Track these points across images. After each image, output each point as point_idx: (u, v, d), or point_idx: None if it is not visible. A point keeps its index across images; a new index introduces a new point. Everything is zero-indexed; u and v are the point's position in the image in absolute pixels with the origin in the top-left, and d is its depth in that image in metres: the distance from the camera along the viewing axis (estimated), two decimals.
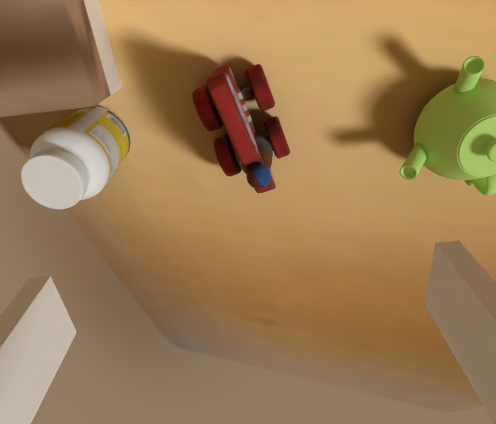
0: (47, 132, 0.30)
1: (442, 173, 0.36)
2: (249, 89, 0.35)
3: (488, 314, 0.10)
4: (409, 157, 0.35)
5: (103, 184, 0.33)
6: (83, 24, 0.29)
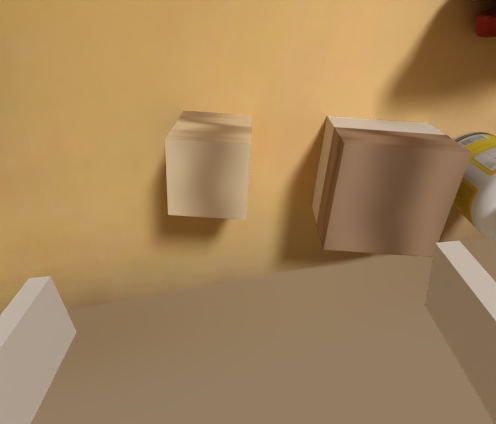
0: (475, 210, 0.28)
1: None
2: None
3: (488, 314, 0.10)
4: None
5: None
6: (380, 135, 0.29)
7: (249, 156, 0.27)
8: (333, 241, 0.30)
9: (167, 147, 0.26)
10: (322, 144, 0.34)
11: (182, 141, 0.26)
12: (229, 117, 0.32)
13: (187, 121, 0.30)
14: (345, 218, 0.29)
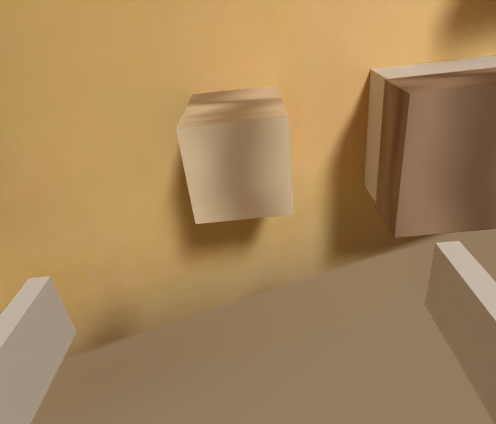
0: None
1: None
2: None
3: (488, 314, 0.10)
4: None
5: None
6: (450, 77, 0.22)
7: (287, 131, 0.20)
8: (406, 225, 0.24)
9: (181, 138, 0.20)
10: (369, 107, 0.27)
11: (198, 127, 0.20)
12: (249, 92, 0.26)
13: (200, 105, 0.24)
14: (419, 193, 0.22)
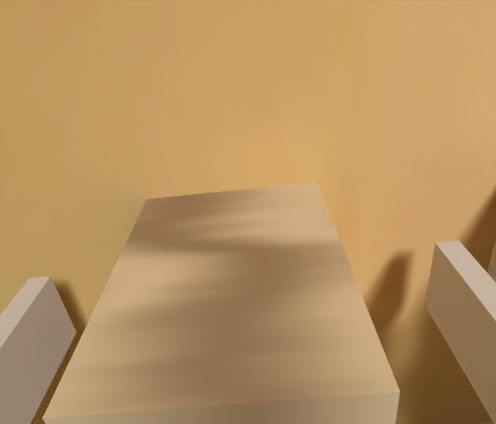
0: None
1: None
2: None
3: (488, 314, 0.10)
4: None
5: None
6: None
7: (390, 421, 0.07)
8: None
9: None
10: None
11: (112, 415, 0.06)
12: (262, 204, 0.12)
13: (150, 253, 0.10)
14: None
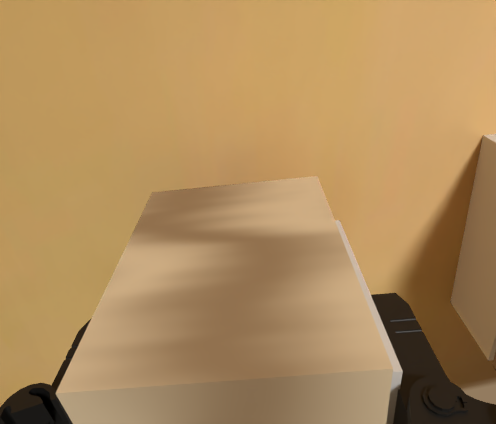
0: None
1: None
2: None
3: None
4: None
5: None
6: None
7: (384, 398, 0.07)
8: None
9: (75, 411, 0.07)
10: (472, 193, 0.16)
11: (120, 390, 0.07)
12: (264, 197, 0.12)
13: (156, 243, 0.11)
14: None
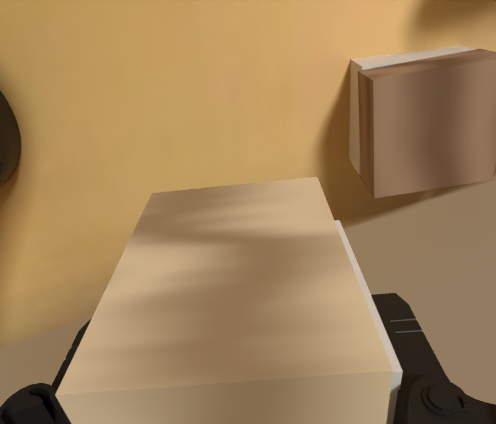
0: None
1: None
2: None
3: None
4: None
5: None
6: (408, 65, 0.27)
7: (384, 399, 0.07)
8: (383, 187, 0.29)
9: (75, 412, 0.07)
10: (350, 91, 0.33)
11: (120, 392, 0.07)
12: (264, 198, 0.12)
13: (155, 244, 0.11)
14: (390, 160, 0.28)
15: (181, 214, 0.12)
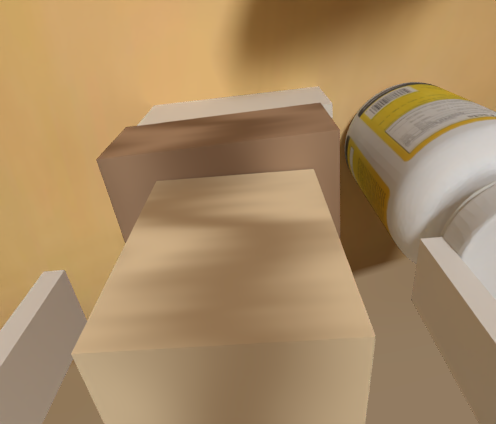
0: (393, 230, 0.15)
1: None
2: None
3: (467, 307, 0.10)
4: None
5: None
6: (190, 127, 0.16)
7: (367, 364, 0.08)
8: None
9: (87, 371, 0.08)
10: None
11: (130, 352, 0.07)
12: (262, 187, 0.13)
13: (160, 226, 0.11)
14: None
15: (184, 200, 0.13)
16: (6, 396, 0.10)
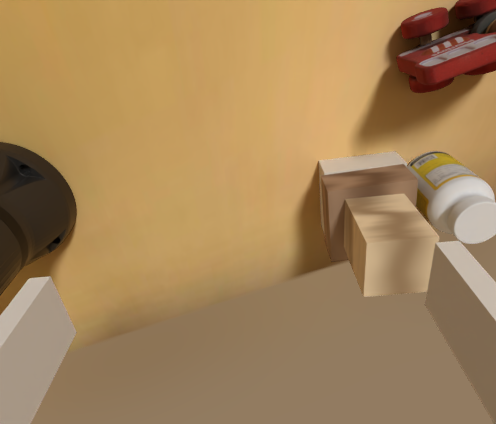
0: (430, 215, 0.39)
1: None
2: (423, 35, 0.36)
3: (488, 314, 0.10)
4: None
5: (486, 184, 0.37)
6: (353, 176, 0.40)
7: None
8: (337, 255, 0.42)
9: (368, 248, 0.32)
10: (319, 180, 0.46)
11: (380, 242, 0.32)
12: (388, 201, 0.37)
13: (362, 214, 0.36)
14: (341, 238, 0.41)
15: (363, 206, 0.37)
16: None
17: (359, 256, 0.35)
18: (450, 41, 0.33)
